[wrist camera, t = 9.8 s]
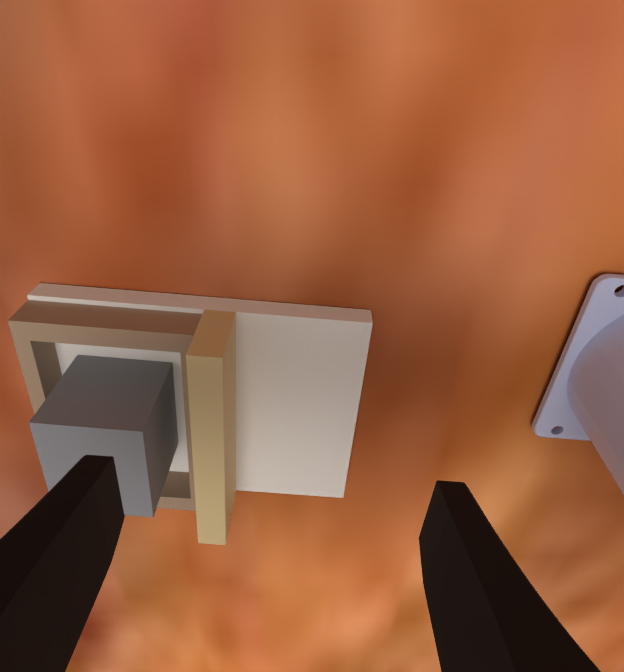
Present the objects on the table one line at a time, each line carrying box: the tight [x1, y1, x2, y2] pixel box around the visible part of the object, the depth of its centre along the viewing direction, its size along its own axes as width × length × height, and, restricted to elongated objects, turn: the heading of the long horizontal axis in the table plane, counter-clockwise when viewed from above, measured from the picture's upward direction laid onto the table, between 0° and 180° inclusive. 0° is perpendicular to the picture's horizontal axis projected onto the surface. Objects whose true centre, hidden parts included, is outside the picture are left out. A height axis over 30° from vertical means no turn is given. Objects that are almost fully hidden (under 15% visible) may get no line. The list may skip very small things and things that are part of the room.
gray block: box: [29, 355, 178, 517], centre depth 20 cm, size 4×4×4 cm
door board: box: [8, 283, 373, 545], centre depth 21 cm, size 13×10×4 cm
